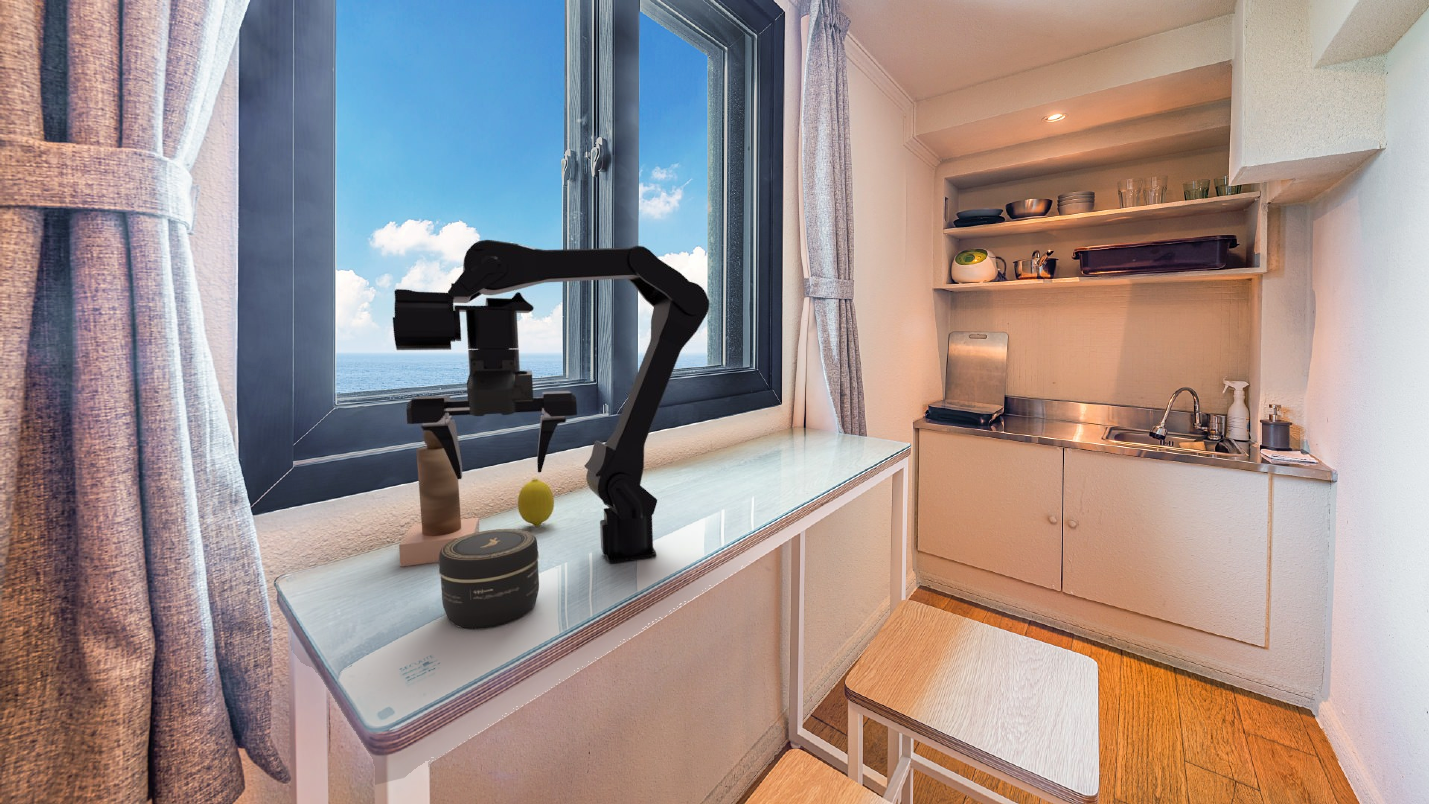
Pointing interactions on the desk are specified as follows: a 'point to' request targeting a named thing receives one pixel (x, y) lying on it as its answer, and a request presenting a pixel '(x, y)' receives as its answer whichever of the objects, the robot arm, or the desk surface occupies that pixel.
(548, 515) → the lemon
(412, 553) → the pink block base
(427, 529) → the pepper mill
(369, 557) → the desk surface
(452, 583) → the jar
